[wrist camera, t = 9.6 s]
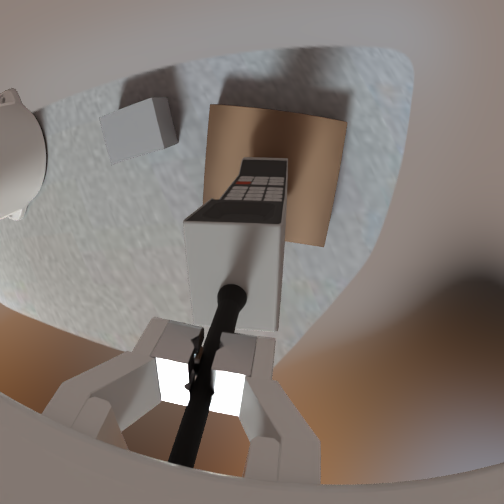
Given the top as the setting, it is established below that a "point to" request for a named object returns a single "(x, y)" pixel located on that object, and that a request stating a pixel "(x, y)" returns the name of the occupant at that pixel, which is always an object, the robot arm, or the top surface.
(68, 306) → the top surface
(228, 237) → the vintage mobile phone
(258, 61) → the top surface
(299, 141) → the walnut stand
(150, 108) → the grey plastic box
